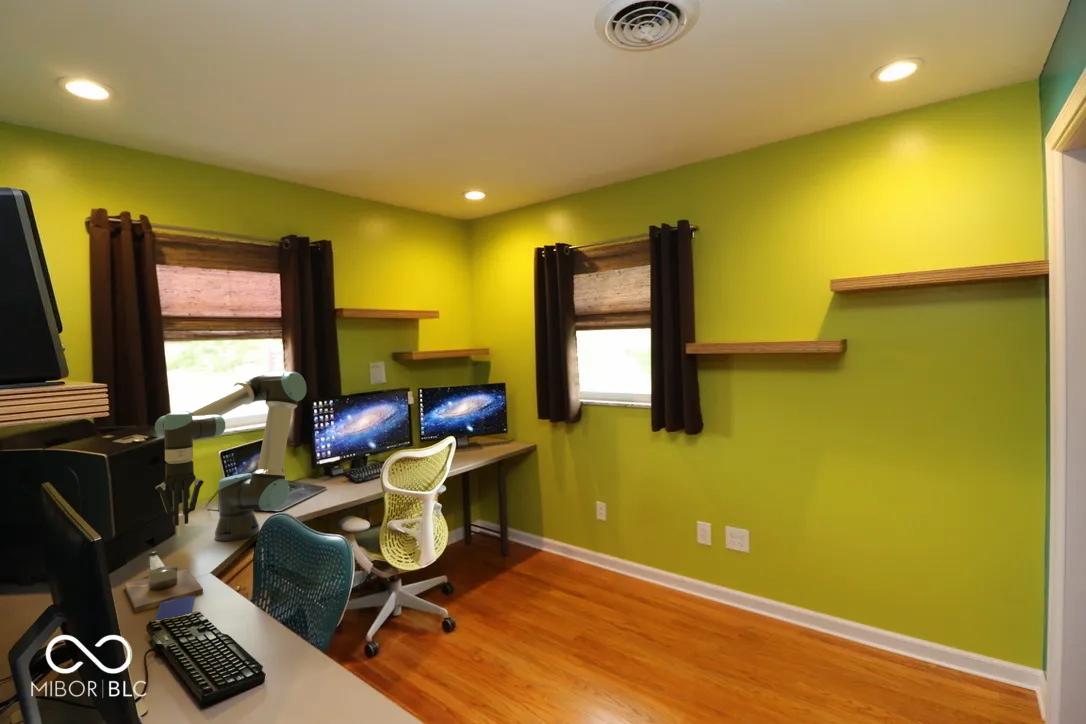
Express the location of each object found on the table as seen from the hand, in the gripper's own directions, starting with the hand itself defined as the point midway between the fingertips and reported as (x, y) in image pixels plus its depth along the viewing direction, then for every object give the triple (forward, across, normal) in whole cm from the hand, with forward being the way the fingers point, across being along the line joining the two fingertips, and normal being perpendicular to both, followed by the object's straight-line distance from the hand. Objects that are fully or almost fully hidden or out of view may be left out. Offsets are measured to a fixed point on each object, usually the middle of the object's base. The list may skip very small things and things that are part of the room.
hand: (181, 534), depth 175 cm
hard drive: (+14, -6, -29) cm, 33 cm away
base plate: (+13, -7, -11) cm, 18 cm away
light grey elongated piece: (+11, -7, -3) cm, 13 cm away
